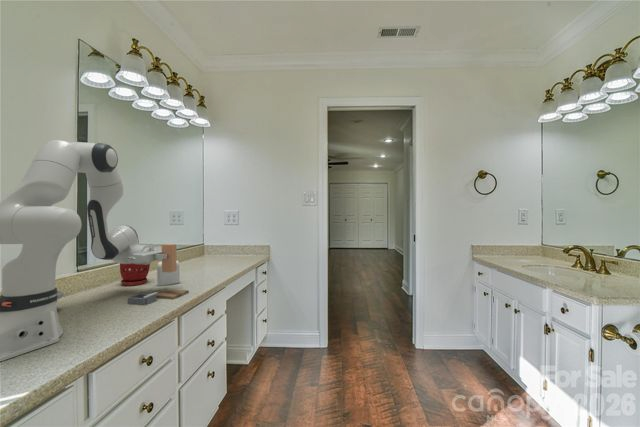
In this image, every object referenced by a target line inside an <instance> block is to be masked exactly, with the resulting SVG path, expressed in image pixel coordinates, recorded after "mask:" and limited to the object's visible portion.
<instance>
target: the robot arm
mask: <svg viewBox="0 0 640 427" xmlns="http://www.w3.org/2000/svg"><path fill="white" fill-rule="evenodd" d="M118 163H119V157H118V154H117V151H116V150H115V148H113V147H112V145H110V144H108V143H107V144H106V143H102V142H95V143H94V142H85V141H84V142H82V141H70V142H69V141H66V140H62V139H53V140H49V141H47V142H46V143H45V144H44V145H43V146H42V147H41V149H39V151H38V152H37V153H36V155H35V156H34V158H33V159H32V161H31V163H30V166H29V167H28V169H27V171H26V173H25V175H24V176H23V177H22V180H21V181H20V183H19V184H18V185H17V186H16V187H15V188H14V189H12V191H10V193H9V194H7V195H6V196H5V197H3V198H2V199H0V245H22V246H21V247H22V248H21V251H20V253H19V255H18V256H17V257H15V258H14V259H12V260H10V261H8V262H7V263H5V265H3V267H2V269H1V295H0V362H3V361H6V360H10V359H12V358H15V357H18V356H21V355H24V354H26V353H29V352H32V351H35V350H39V349H41V348H43V347H47V346H49V345H52V344H56V343H58V342H59V341H60V337H62V335H63V334H64V331H63V329H62V326H61V323H60V320H59V314H58V308H57V302H58V299H57V291H58V288H57V287H56V270H57V269H56V268H57V262H58V259H59V256H60V254H61V252H62V251H63V249H64V248H65V247H66V246H67V244H69V243H70V242H72V241H73V240H74V239H75V238H77V236H78V235H79V234H80V232H81V230H82V225H83V224H82V219H81V217H80V215H79V214H78V212H76V211H75V210H74V209H71V208H68V207H67V208H66V207H61V206H54V205H55V204H57V203H58V204H59V202H62V201H64V200H65V199H66V198H67V197H68V196H69V193H70V191H71V188H72V186H73V183H74V181H75V178H76V176H77V174H78V173H83V174H85V176H86V181H87V185H88V188H89V200H88V203H87V205H86V206H87V207H86V212H87V218H88V226H89V231H90V236H91V237H90V238H91V243H90V248H91V249H90V250H91V253H92V254H93V256H94V257H95V258H97V259H99V260H105V261H109V260H111V261H112V262H114V263H116V264H117V263H118V264H120V263H121V264H132V263H133V264H140V265H147V264H151V263H153V262H155V261H159V260H162V259H167V258H169V257H168V256H169V255H168V254H162V246H160V245H151V244H140V242H139V237H138V233H137V231H136V229H134V228H133V227H131V226H129V225H127V224H121V225H118V226H117V227H115V228H114V229H112V230H110V231H109V229H108V223H107V222H108V221H107V218H108V215H109V213H110V212H111V210H112V209H113V207H114V206H115V205H116V204H117V203H119V201H121V199H122V197H123V195H124V186H123V183H122V182H123V181H122V180H121V175H120V173H119V171H118V168H117V165H118Z"/></svg>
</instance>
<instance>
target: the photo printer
mask: <svg viewBox="0 0 640 427" xmlns="http://www.w3.org/2000/svg"><path fill="white" fill-rule="evenodd" d="M176 265H177V271H175V272H162V260H161V261H159V262H157V265H156V275H157V277H156V281H157V282H156V283H157V284H156V285H157V286H158V287H162V286H167V285H168V286H169V285H174V284H179V283H180V281H181V280H180V278H181V277H180V276H181V275H180V263H179V260H178V259H176Z"/></svg>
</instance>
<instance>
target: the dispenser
mask: <svg viewBox="0 0 640 427" xmlns="http://www.w3.org/2000/svg"><path fill="white" fill-rule="evenodd" d="M157 292H158V291H156V292H153V293H142V292H141V293H136V294H134V295H131V296H127V305H137V306H146V305H149V304H152V303H154V302H157V300H158V298H156V294H157Z"/></svg>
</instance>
